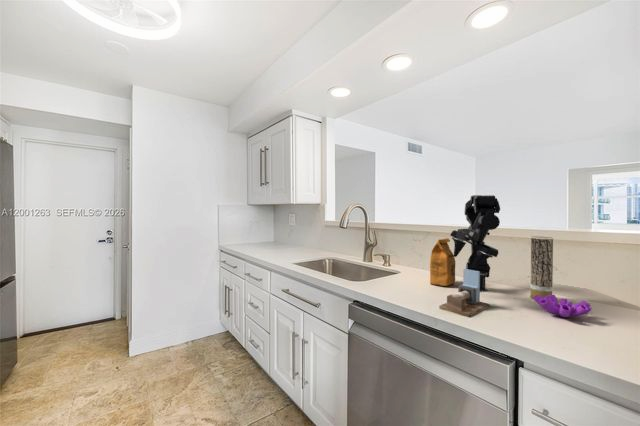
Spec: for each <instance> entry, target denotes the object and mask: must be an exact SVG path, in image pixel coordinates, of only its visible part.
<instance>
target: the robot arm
mask: <svg viewBox="0 0 640 426" xmlns="http://www.w3.org/2000/svg"><path fill="white" fill-rule="evenodd" d="M500 211H501V206H500V202H499V200H498V198H496V195H492V194H491V195H489V194H488V195H479V194H478V195H474V194H473V195H470V199H469V200H468V201H466V203H465V204H464V216H465V219H466V221H467V222H468V224H469V226H468V228H459V229H457V230H452V231H451V233H450V235H449V236H450V237H451V239H452V241H453V242H454V248H453V255H454V258H456V257H457V256H459V254H460V252H461V251H462V250H463V248H464V247H465V245H466V244H467V243H468V244H470V248H471V249H470V250H471V251H470V252H471V255H470V256H469V257H468V259H467V261H466V265H465V269H468V270H474V271H480V292H488V291H489V289H487V288H486V278H490V272H491V266H490V265H489V263H488V259H489V258H497V257H498V256H499V249H497V248H495V247H493V246H490V245H487V244H485V243H486V242H485V240H486V236H490V234H491V233H490V232H489V231H493V230H495V229H498V227H499V226H500V218H499V216H497V215H496V214H499V213H500Z"/></svg>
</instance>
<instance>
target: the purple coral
mask: <svg viewBox="0 0 640 426" xmlns="http://www.w3.org/2000/svg"><path fill="white" fill-rule="evenodd" d="M532 299H533V300H534V301H535V303H536V304H537V305H539V306H540V307H541V308H543V309H544V310H545V311H546V312H548V313H550V314H553V315H556V316H558V317H563V318H575V317H583V316H584V315H587V314H589V313H590V312H591V311H592V309H593V308H592V307H591V304H590V303H589V302H587V301H586V300H582V301H580V302H579V303H577V302H575V304H573V302H570V301H568V299H567V298H563V297H562V298H560V302H559V300H558V298H557V296H556V295H555V294H552V295H548V296H545V297H541V296H540V295H536V296H534V297H533V298H532Z"/></svg>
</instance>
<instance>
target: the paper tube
mask: <svg viewBox="0 0 640 426" xmlns="http://www.w3.org/2000/svg"><path fill="white" fill-rule="evenodd" d="M553 261H554V238H553V237H552V236H551V237H550V236H536V235H535V236H531V237H530V297H531V299H533V297H534V296H536V295H540V296H541V297H545V296H548V295H553V282H554V281H553V279H554V277H553V275H554V273H553V272H554V266H553Z"/></svg>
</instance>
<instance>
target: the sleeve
mask: <svg viewBox="0 0 640 426" xmlns="http://www.w3.org/2000/svg"><path fill="white" fill-rule="evenodd" d="M462 272H463V276H462V277H463V278H462V279H463V280H462V281H463V282H462V284H461V285H463V286H468V287H472V288H476V303H477V302H479V301H480V300H481V299H480V298H481V297H480V295H481V291H480V271H474V270H468V269H466V268H463V271H462ZM465 290H466V289H463V291H465ZM468 299H470V300H471V297H470V298H468ZM480 302H481V301H480Z"/></svg>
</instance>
